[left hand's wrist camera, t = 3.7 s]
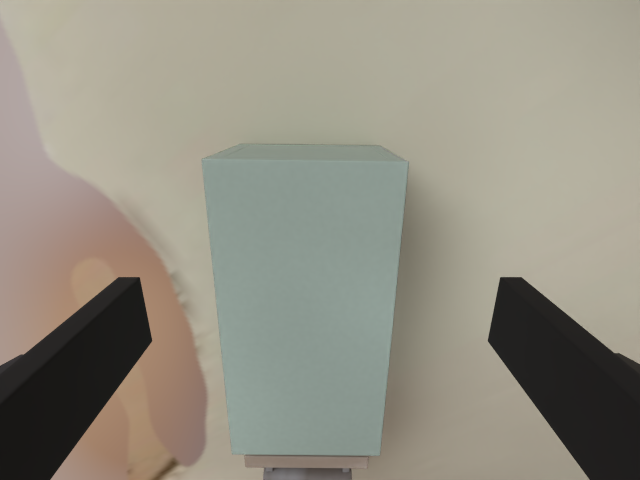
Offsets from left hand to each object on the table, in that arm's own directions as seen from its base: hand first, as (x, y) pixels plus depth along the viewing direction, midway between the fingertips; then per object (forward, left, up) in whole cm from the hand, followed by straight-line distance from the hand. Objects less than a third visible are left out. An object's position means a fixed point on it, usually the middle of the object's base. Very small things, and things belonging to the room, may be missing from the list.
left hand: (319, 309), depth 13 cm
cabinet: (+5, -2, -16) cm, 17 cm away
